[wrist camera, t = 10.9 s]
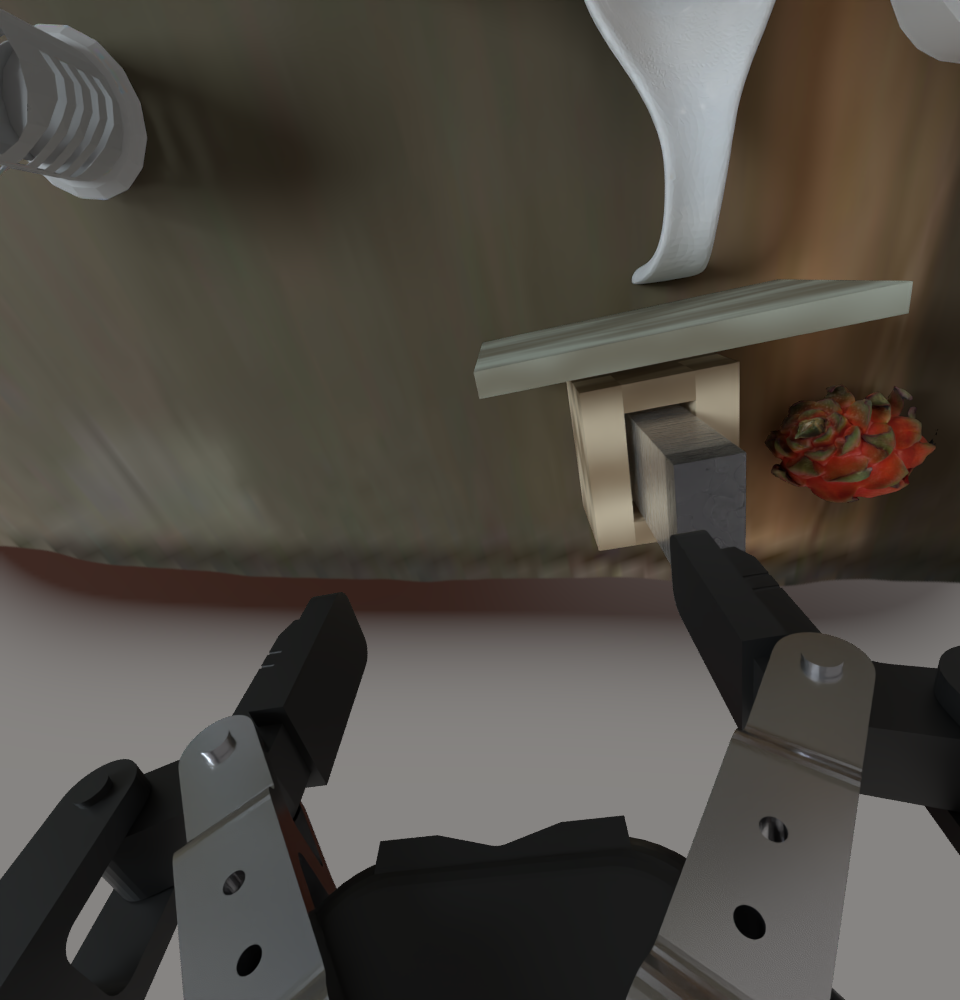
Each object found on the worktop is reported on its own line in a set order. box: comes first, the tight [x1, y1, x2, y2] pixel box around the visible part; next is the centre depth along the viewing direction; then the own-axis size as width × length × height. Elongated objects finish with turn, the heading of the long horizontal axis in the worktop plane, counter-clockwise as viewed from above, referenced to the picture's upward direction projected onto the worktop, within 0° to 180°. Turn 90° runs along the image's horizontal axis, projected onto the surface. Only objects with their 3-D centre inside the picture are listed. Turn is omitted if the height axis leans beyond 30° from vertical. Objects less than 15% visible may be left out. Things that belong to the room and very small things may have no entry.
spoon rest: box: [584, 0, 776, 284], centre depth 28 cm, size 24×12×7 cm, turn 9°
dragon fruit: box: [765, 385, 938, 503], centre depth 37 cm, size 8×8×12 cm
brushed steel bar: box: [624, 404, 746, 564], centre depth 31 cm, size 7×4×12 cm, turn 12°
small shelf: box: [474, 279, 913, 551], centre depth 34 cm, size 16×22×13 cm
